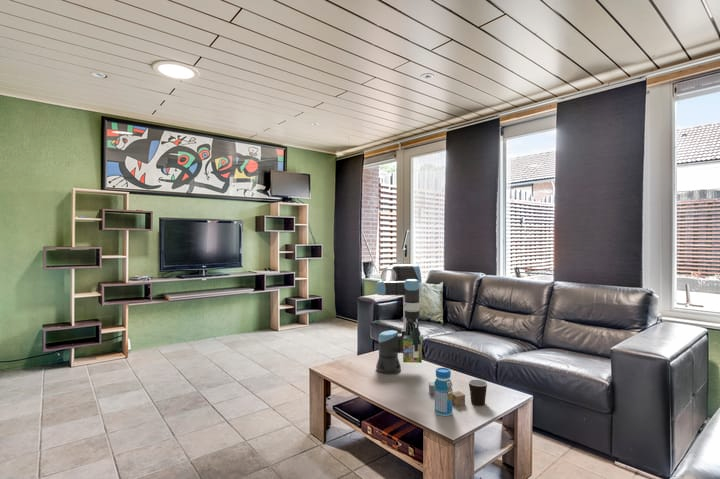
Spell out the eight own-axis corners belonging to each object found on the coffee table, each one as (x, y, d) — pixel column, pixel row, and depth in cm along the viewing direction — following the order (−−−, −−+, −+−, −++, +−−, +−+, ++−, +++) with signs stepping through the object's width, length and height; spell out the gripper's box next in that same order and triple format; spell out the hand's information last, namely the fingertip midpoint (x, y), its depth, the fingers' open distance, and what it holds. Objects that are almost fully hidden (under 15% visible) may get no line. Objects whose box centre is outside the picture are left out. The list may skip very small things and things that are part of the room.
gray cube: (428, 391, 205) (428, 381, 205) (438, 391, 204) (438, 381, 204) (430, 395, 200) (430, 385, 200) (439, 395, 199) (439, 385, 199)
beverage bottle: (436, 416, 176) (435, 373, 176) (432, 408, 184) (432, 366, 184) (454, 416, 176) (454, 372, 176) (450, 408, 184) (450, 366, 184)
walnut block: (450, 402, 191) (450, 392, 190) (458, 400, 192) (458, 390, 192) (456, 406, 186) (456, 396, 186) (465, 404, 188) (465, 394, 188)
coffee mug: (484, 408, 184) (484, 387, 183) (466, 404, 188) (466, 384, 188) (490, 399, 193) (490, 379, 193) (473, 395, 198) (473, 376, 198)
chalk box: (421, 363, 190) (421, 333, 189) (402, 362, 191) (402, 332, 191) (422, 357, 199) (421, 328, 198) (404, 356, 200) (403, 328, 200)
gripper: (399, 306, 205) (399, 347, 206) (411, 315, 182) (411, 361, 183) (412, 305, 206) (413, 346, 207) (426, 314, 184) (426, 360, 184)
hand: (412, 353), depth 195 cm, fingers closed on chalk box, 11 cm apart
